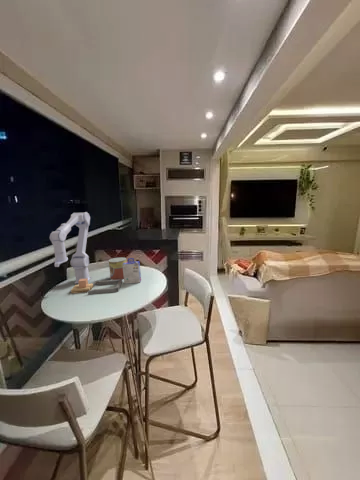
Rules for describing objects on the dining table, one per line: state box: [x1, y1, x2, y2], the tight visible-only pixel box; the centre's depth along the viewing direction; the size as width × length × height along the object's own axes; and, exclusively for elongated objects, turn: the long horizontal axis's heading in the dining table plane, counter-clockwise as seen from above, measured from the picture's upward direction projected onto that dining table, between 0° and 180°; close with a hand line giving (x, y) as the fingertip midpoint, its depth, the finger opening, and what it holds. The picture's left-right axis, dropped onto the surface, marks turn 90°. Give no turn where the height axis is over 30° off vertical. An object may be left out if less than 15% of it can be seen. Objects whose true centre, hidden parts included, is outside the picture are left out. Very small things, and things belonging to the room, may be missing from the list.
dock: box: [87, 279, 123, 296], centre depth 149 cm, size 18×16×2 cm
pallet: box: [70, 282, 94, 294], centre depth 148 cm, size 8×10×2 cm
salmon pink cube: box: [77, 278, 89, 288], centre depth 148 cm, size 4×4×4 cm
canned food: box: [107, 256, 128, 281], centre depth 166 cm, size 11×11×12 cm
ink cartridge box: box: [122, 257, 142, 285], centre depth 156 cm, size 10×6×14 cm, turn 93°
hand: (63, 275), depth 146 cm, fingers closed
